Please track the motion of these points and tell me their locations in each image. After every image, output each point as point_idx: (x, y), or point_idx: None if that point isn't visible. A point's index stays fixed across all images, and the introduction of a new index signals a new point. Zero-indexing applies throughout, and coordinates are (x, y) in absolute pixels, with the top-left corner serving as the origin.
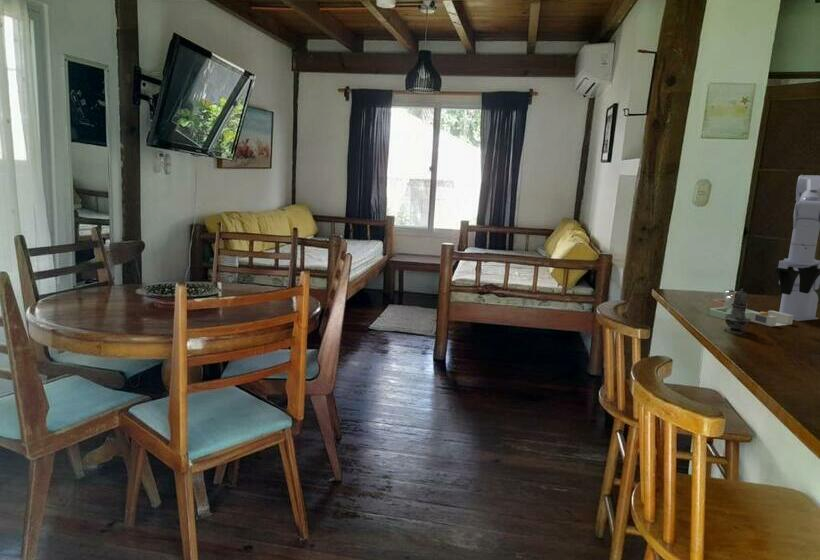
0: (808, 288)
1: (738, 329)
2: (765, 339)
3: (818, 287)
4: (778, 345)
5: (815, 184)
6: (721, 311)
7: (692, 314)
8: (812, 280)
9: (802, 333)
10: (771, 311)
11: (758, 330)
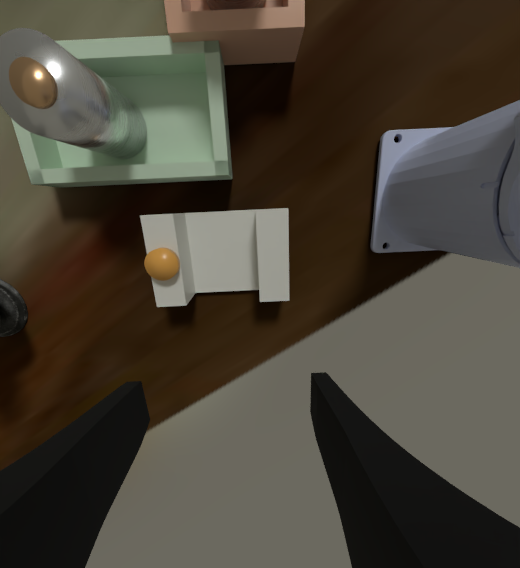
0: (321, 444)
1: None
2: (38, 382)
3: None
4: (33, 423)
5: None
6: (98, 69)
7: None
8: (346, 535)
9: (221, 360)
10: (261, 223)
11: (96, 308)
